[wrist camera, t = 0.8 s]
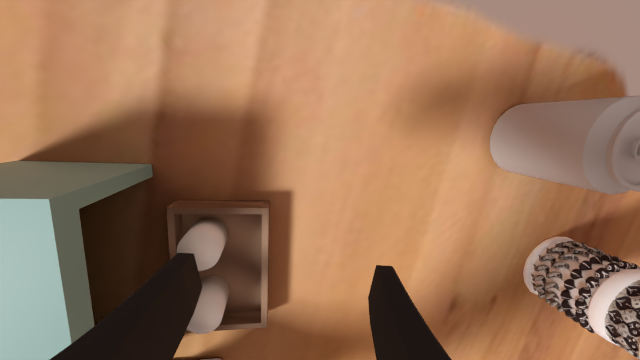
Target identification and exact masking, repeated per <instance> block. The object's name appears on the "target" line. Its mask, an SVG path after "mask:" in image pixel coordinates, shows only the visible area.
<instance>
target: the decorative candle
mask: <svg viewBox="0 0 640 360" xmlns="http://www.w3.org/2000/svg"><path fill="white" fill-rule="evenodd" d="M523 277H524V283H525V285H526V286H527V287H528V289H529V290H530V291H531V292H532V293H534V294H536V295H538V297H539V298H545V301H546V302H547V303H550V305H551V306H552V307H555V306H557V310H558V311H560V312H563V311H565V314H566V316H567V317H569V318H572V319H573V320H574V321H575V322H578V323H580V325H581V326H582V327H583V328H586V329H587V330H588V331H589V332H591V333H597V334H599V335H600V336H602V337H603V338H605V339H606V340H608V341H609V342H611V343H613V344H615V345H618V346H620V347H621V348H623V349H624V350H626V351H627V352H629V353H630V354H632V355H633V356H635V357H637V358H638V359H639V360H640V268H639V266H638V265H636V264H633V263H630V264H629V263H628V262H625V261H621V259H620V258H618V257H615V256H613V257H612V256H610V255H608V254H604V252H603V251H601V250H599V249H597V248H592V247H589V246H588V245H586V244H584V243H581V242H577V241H574V240H572V239H570V238H568V237H558V236H555V237H552V238H550V239H547V240H544V241H543V242H541V243H540V244H539V245H538V246H536V247H535V248H534V249H533V250H532V252H531V253H530V255H529V256H528V258H527V259H526V262H525V266H524V270H523Z"/></svg>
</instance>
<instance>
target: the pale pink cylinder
mask: <svg viewBox="0 0 640 360" xmlns="http://www.w3.org/2000/svg"><path fill="white" fill-rule="evenodd" d="M228 236H229V231H228V228H227V226H226V224H225V223H224V222H223V221H222V220H220V219H219V218H216V217H210V216H209V217H203V218H201V219H199V220H198V221H196V222H195V223H194V225H193V226H192V227H191V228H190V229H189V231H188V232H187V233H186V234H185V235H184V237H183V238H182V239H181V240H180V242H179V243H178V246H177V253H193V254H194V256H195V260H196V264H197V267H198V271H203V270H207V269H209V268H211V267H213V266H214V265H215V264H216V263H217V262H218V260H219V258H220V256H221V253H222V251H223V249H224V246H225V244H226V242H227V240H228Z"/></svg>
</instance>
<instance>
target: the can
mask: <svg viewBox="0 0 640 360" xmlns="http://www.w3.org/2000/svg"><path fill="white" fill-rule="evenodd" d="M490 151H491V154H492V157H493V160H494V161H495V162H496V164H497V165H498V166H499V167H500V168H502V169H504V170H505V171H508V172H512V173H517V174H521V175H526V176H530V177H534V178H539V179H543V180H548V181H552V182H557V183H561V184H566V185H570V186H575V187H579V188H584V189H588V190H593V191H597V192H602V193H607V194H613V195H614V194H619V193H624V192H628V191H630V190H633V191H640V96H629V97H614V98H600V99H585V100H571V101H557V102H542V103H528V104H521V105H516V106H514V107H512V108H510V109H508V110H507V111H506V112H505V113H504V114H503V115H502V116H501V117H500V118H499V119H498V121H497V122H496V124H495V126H494V127H493V130H492V134H491V137H490Z"/></svg>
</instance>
